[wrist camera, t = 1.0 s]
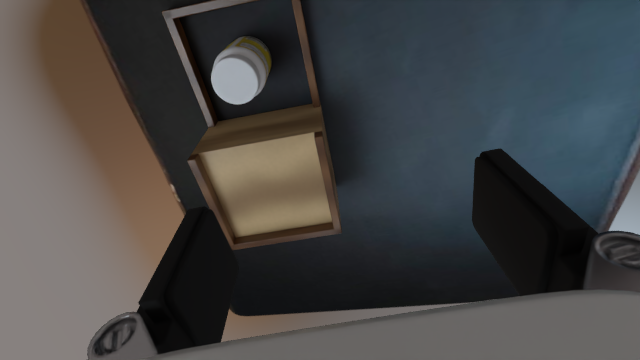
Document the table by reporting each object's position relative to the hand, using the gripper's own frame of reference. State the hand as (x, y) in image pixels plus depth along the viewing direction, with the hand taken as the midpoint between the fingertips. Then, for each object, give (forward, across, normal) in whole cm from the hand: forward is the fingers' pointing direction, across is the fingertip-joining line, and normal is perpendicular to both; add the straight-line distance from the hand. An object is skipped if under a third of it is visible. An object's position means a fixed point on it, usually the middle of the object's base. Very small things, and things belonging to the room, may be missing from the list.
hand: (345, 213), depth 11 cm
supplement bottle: (+27, +8, -2) cm, 28 cm away
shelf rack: (+27, +8, +4) cm, 28 cm away
